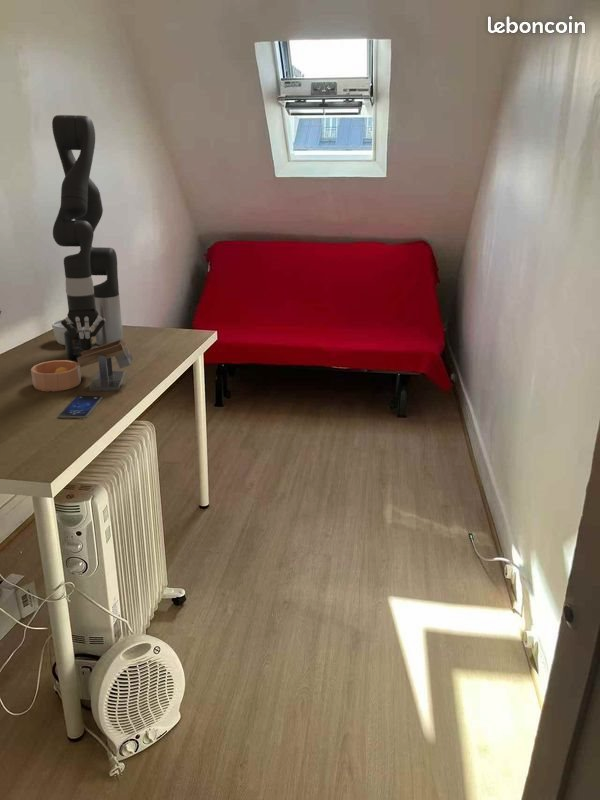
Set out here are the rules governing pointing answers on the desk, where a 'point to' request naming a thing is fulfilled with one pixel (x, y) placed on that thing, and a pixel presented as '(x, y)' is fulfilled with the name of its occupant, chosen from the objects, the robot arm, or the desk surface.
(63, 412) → the smartphone
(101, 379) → the chute stand
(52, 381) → the pink round bowl
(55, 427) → the desk surface
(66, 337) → the supplement bottle
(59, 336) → the white bowl
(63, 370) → the ball
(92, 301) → the robot arm
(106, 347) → the chute
